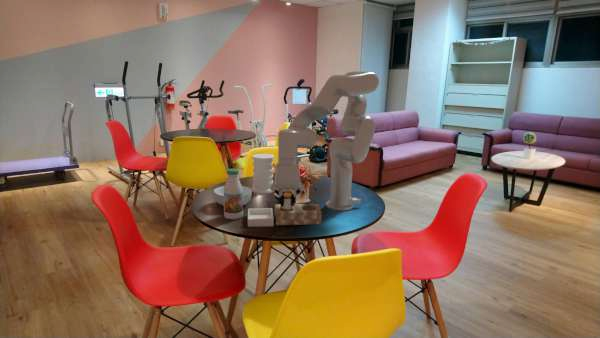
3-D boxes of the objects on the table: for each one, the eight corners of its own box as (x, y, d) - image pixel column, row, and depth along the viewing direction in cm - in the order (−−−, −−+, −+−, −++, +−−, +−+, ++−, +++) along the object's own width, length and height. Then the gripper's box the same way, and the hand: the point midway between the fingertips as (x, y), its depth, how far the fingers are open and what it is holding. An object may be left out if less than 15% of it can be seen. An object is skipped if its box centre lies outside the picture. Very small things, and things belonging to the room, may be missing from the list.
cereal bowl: (249, 212, 159) (249, 196, 157) (210, 211, 159) (209, 195, 157) (253, 199, 175) (253, 185, 174) (218, 198, 175) (218, 184, 173)
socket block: (317, 214, 158) (317, 201, 156) (321, 224, 148) (321, 209, 147) (274, 215, 156) (274, 202, 154) (276, 225, 146) (276, 210, 145)
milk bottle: (220, 216, 154) (219, 169, 149) (235, 211, 159) (235, 166, 154) (231, 221, 148) (230, 173, 143) (246, 216, 154) (246, 170, 149)
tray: (272, 214, 156) (272, 208, 156) (273, 226, 145) (273, 218, 144) (248, 215, 155) (248, 208, 154) (247, 226, 144) (247, 219, 143)
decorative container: (249, 193, 184) (248, 157, 179) (254, 186, 195) (254, 153, 191) (272, 194, 183) (272, 159, 178) (276, 187, 194) (276, 154, 189)
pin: (291, 217, 154) (291, 189, 151) (292, 221, 150) (292, 192, 147) (281, 217, 153) (282, 189, 150) (282, 221, 149) (282, 193, 146)
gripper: (307, 158, 150) (306, 201, 155) (266, 159, 148) (266, 202, 153) (310, 163, 143) (308, 208, 147) (266, 163, 141) (266, 209, 145)
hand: (287, 204), depth 150 cm, fingers closed on pin, 4 cm apart
